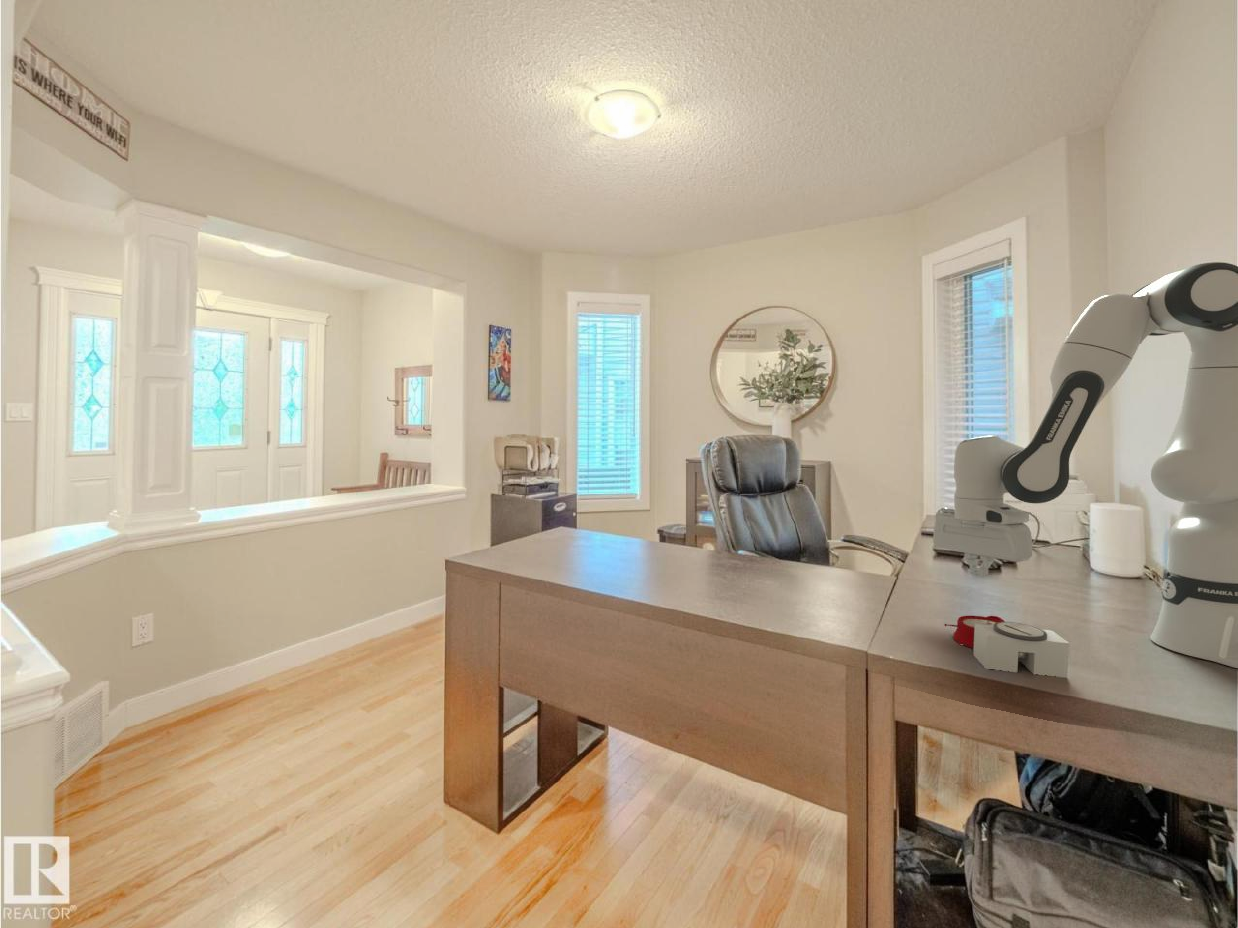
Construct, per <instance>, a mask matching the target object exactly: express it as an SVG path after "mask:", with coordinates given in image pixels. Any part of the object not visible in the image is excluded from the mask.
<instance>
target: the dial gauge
mask: <svg viewBox="0 0 1238 928" xmlns="http://www.w3.org/2000/svg"><path fill="white" fill-rule="evenodd" d="M1069 647H1070V643H1069V642H1068V641H1067V640H1065V639H1064V638H1062V637H1061V636H1060V635H1058V633H1056V632H1055V631H1053V630H1050V629H1041V628H1039V627H1035V626H1034V625H1029V624H1026V623H1018V622H1013V621H1005V622H998V623H995V624H994V625H985V624H975V630H974V648H973V651H972V652H973V654H974V655H973V657H974V656H975V657H976V658H977V659H978V660H977V659H976V658H975V657H974V658H975V659H976V660H977V661H978V662H979V664H980V663H981V664H982V665H983V666H984V667H983V666H982V665H981V666H982V667H983V668H984V669H985V670H989V669H995V670H994V671H999V670H1002V671H1001V672H1008V671H1009V672H1010V673H1018V667H1019V662H1020V661H1021V662H1022V663H1023V664H1024V665H1025V666H1026V667H1025V666H1024V665H1023V664H1022V663H1021V662H1020V663H1021V664H1022V665H1023V666H1024V667H1025V668H1026V669H1027V670H1029V672H1031V673H1032V674H1033V675H1036V674H1038V676H1045V675H1047V676H1048V677H1054V676H1056V678H1063V679H1064V678H1066V679H1067V678H1068V668H1069V667H1068V666H1069V652H1070V651H1069V649H1070V648H1069ZM1018 652H1026V653H1027V658H1026V659H1024V660H1021V659H1019V658H1018ZM1019 660H1020V661H1019ZM1047 676H1046V677H1047Z"/></svg>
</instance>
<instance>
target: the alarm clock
mask: <svg viewBox="0 0 1238 928" xmlns="http://www.w3.org/2000/svg"><path fill="white" fill-rule="evenodd" d="M998 622H1006V621H1005V620H1004V619H1003V618H1002V617H999V616H998V615H988V616H982V615H962V616H960V617H958V619H957V623H956V624H947V623H944V626H945V627H954V628H955V627H956V630H955V631H954V633H953V634H952V635H953V639H954V640H955V641H956V642H958V644H959V645H960V644H963V646H966V647H969V648H971V649H974V630H975V624H985V625H994V624H995V623H998Z"/></svg>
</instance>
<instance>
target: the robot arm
mask: <svg viewBox="0 0 1238 928" xmlns="http://www.w3.org/2000/svg"><path fill="white" fill-rule="evenodd" d="M1179 333H1183V334H1184V335H1185V336H1186V338H1187V340H1188V342H1189V345H1190V351H1191V353H1190V358H1189V362H1188V370H1187V375H1186V381H1185V389H1184V394H1183V401H1182V406H1181V411H1180V414H1179V417H1178V419H1177V422H1176V425H1175V427H1174V429H1173V431H1172V434H1171V436H1170V438H1169V440H1168V442H1167V445H1166V448H1165V450H1164V452H1163V453H1162V454H1161V456H1160V457H1158V459H1156V461H1155V462H1154V463H1153V465H1152V467H1151V470H1150V478H1151V481H1152V484H1153V486H1154V488H1155V489H1156V490H1157V491H1158V492H1159V493H1160V494H1162V495H1163V496H1164V497H1166V498H1169V499H1171V500H1174V501H1177V502H1179V503H1180V502H1181V503H1183V505H1182V508H1181V509H1180V513H1179V515H1178V517H1177V519H1176V521H1175V522H1174V524H1173V525H1171V528H1170V530H1169V533H1168V545H1167V562H1166V569H1164V570H1163V573H1162V585H1161V597H1162V598H1161V599H1162V602H1161V608H1160V612H1159V616H1158V619H1157V622H1156V625H1155V627H1154V629H1153V631H1152V633H1151V635H1150V637H1149V638H1150V640H1151V641H1152V642H1153V643H1155V644H1157V645H1158V646H1161V647H1163V648H1165V649H1168V650H1170V651H1173V652H1176V653H1179V654H1182V655H1187V656H1190V657H1194V658H1198V659H1203V660H1206V661H1211V662H1215V663H1218V664H1221V665H1224V666H1228V667H1230V668H1235V669H1238V265H1235V264H1233V263H1228V262H1221V261H1220V262H1219V261H1217V262H1216V261H1213V262H1204V263H1199V264H1195V265H1192V266H1190V267H1188V268H1184V269H1181V270H1176V271H1173V272H1170V273H1169V274H1166V275H1164V276H1163V277H1161V278H1160V279H1157V280H1156V281H1154V282H1151V283H1148V284H1146V285H1144V286H1143V287H1141V288H1140V289H1138V290H1136V291H1135V292H1134V293H1132V294H1131V295H1130V294H1126V293H1114V294H1113V293H1111V294H1106V295H1103V296H1102V295H1101V296H1100V297H1098V298H1097V299H1094V300H1093V301H1092V302H1091V303H1090V304H1089V305H1088V306H1087V308H1086V309H1085V310H1084V311H1083V312H1082V314H1081V315H1080V316H1079V318H1078V319H1077V320H1076V322H1075V324H1074V325H1073V326H1072V328H1071V330H1070V331H1069V333H1068V334H1067V336H1066V337H1065V340H1064V341H1063V343H1062V345H1061V347H1060V349H1059V351H1058V353H1057V355H1056V358H1055V360H1054V363H1053V366H1052V369H1051V372H1050V373H1051V374H1050V377H1049V378H1050V383H1051V389H1052V394H1051V399H1050V404H1049V406H1048V408H1047V411H1046V413H1045V415H1043V416H1044V417H1043V418H1042V420H1041V422H1040V424H1039V426H1038V428H1037V430H1036V431H1035V434H1034V435H1033V438H1032V440H1031V441H1030V442H1029V443H1028V445H1026V447H1023V446H1020V445H1017V444H1014V443H1013V442H1010V441H1007V440H1005V439H1003V438H1001V437H1000V436H998V435H995V434H987V435H983V436H977V437H970V438H966V439H964V440H963V441H961V442H959V444H958V445H957V446H956V448H955V449H956V450H955V454H954V462H953V463H954V464H953V465H954V466H953V476H954V477H953V478H954V481H955V484H956V487H955V492H954V497H953V499H954V500H953V501H954V503H953V504H954V505H953V507H954V508H948V507H942V508H940V509H939V510H937V511H936V513H935V522H934V526H933V527H934V528H933V537H932V538H933V539H932V540H933V541H932V542H933V544H934V546H935V547H936V548H938V549H943V550H947V551H948V550H949V551H955V552H960V553H964V554H963V555H964V556H963V557H964V559H965V561H966V563H967V564H968V566H969V574H970V575H974V576H980V577H983V578H984V577H988V575H989V568H990V567H991V565H992V564H993V562H995V561H994V560H995V559H999V560H1004V561H1010V562H1016V563H1021V562H1028V561H1029V560H1030V559H1031V558H1032V557H1033V538H1032V531H1031V529H1030V527H1029V526H1028V525H1027V524H1026V523H1029V521H1030V514H1029V513H1028V512H1026V511H1025V510H1021V509H1018V508H1017V507H1014V506H1013V505H1009V504H1007V503H1006V502H1004V495H1005V494H1009V495H1011V496H1012V497H1013V498H1015V500H1018V501H1020V502H1024V503H1028V504H1044V503H1047V502H1051V501H1054V500H1055V499H1056V498H1058V497H1060V496H1061V495H1062V494H1063V493H1064V492H1065V490H1066V488H1067V487H1068V484H1069V481H1070V457H1071V454H1072V452H1073V450H1074V447H1075V446H1076V444H1077V442H1078V440H1079V438H1080V436H1081V435H1082V432H1083V431H1084V429H1085V427H1086V425H1087V422H1088V421H1089V419H1090V417H1091V415H1092V413H1093V412H1094V411H1095V409H1096V408H1097V407H1098V406H1099V404H1100V403H1101V402H1102V401H1103V400H1104V398H1105V397H1106V396H1107V395H1108V394H1109V393H1110V391H1111V390H1112V389H1113V388H1114V387H1115V385H1116V384H1117V383H1118V382H1119V380H1120V379H1121V377H1122V376H1123V375H1124V373H1125V371H1126V370H1127V369H1128V367H1129V365H1130V364H1131V362H1132V360H1133V358H1134V356H1135V354H1136V353H1137V351H1138V349H1139V346H1140V345H1141V344H1142V343H1143V342H1144V340H1145V339H1146V338H1147V337H1148V336H1150V337H1154V336H1157V337H1158V336H1165V335H1170V334H1179ZM978 556H979V557H980V561H982V562H981V564H980V565H979V564H978V562H977V560H976V559H977V558H978Z"/></svg>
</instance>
